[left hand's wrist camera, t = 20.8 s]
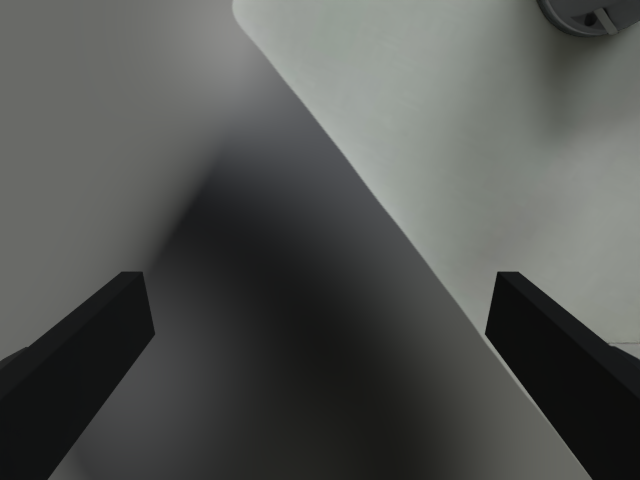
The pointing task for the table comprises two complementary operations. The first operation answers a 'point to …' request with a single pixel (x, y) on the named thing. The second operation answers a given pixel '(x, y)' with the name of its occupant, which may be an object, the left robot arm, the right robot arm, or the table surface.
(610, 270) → the table surface
